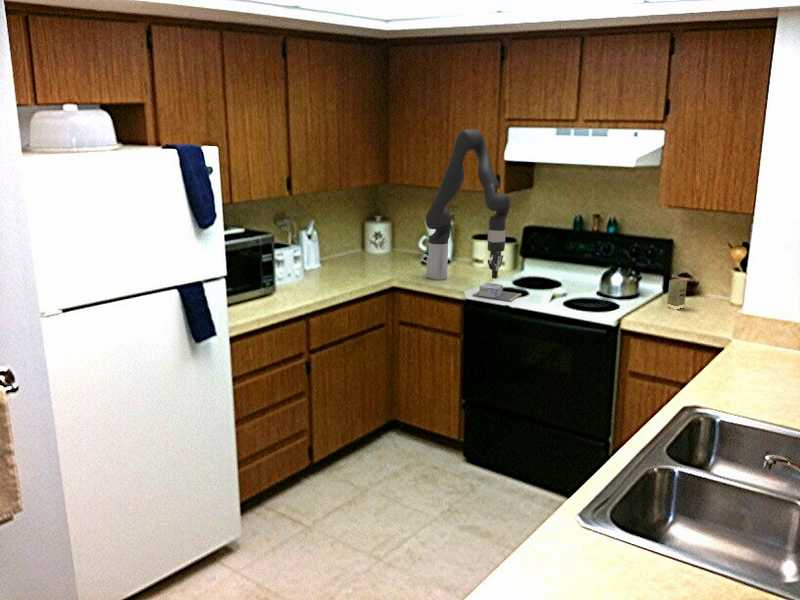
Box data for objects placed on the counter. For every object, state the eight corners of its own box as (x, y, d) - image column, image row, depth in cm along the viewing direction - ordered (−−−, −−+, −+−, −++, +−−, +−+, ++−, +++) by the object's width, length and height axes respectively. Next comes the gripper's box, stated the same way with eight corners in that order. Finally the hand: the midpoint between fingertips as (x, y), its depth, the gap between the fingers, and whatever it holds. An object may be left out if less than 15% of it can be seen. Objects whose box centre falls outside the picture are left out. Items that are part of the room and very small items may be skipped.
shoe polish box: (666, 307, 320) (669, 279, 317) (674, 305, 323) (677, 278, 320) (676, 310, 317) (679, 282, 313) (683, 308, 319) (687, 280, 316)
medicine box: (486, 291, 339) (478, 296, 332) (486, 281, 338) (479, 286, 331) (502, 293, 336) (495, 298, 328) (503, 284, 334) (496, 288, 327)
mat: (472, 296, 334) (472, 294, 334) (484, 289, 345) (484, 288, 345) (510, 302, 325) (510, 300, 325) (521, 295, 336) (521, 293, 336)
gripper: (494, 236, 337) (492, 274, 342) (482, 241, 326) (480, 280, 331) (510, 238, 334) (508, 276, 339) (498, 243, 323) (496, 282, 328)
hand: (494, 278), depth 335 cm, fingers closed
